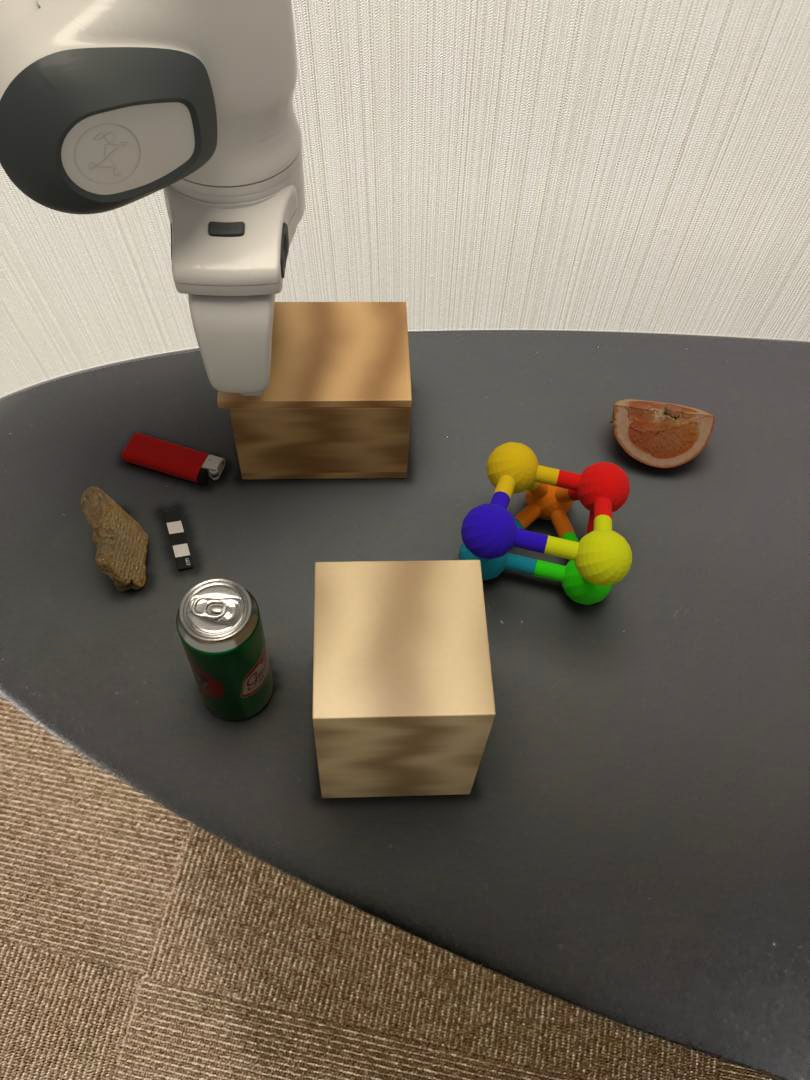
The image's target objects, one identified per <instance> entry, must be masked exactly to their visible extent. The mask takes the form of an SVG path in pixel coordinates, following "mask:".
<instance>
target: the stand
mask: <svg viewBox="0 0 810 1080" xmlns="http://www.w3.org/2000/svg"><path fill="white" fill-rule="evenodd" d="M313 587H314V592H313V593H314V596H313V647H312V648H313V649H312V650H313V652H312V653H313V655H312V656H313V658H312V660H313V661H312V664H313V665H312V713H311V717H312V726H313V727H312V728H313V736H314V743H315V752H316V760H317V761H316V762H317V768H318V779H319V787H320V794H321V795H320V797H321V798H322V799H346V798H347V799H349V798H350V799H351V798H384V797H385V798H386V797H421V796H454V795H456V796H457V795H460V796H461V795H471V792H472V789H473V786H474V783H475V779H476V776H477V773H478V770H479V767H480V764H481V761H482V758H483V756H484V755H483V754H484V752H485V748H486V746H487V742H488V739H489V736H490V733H491V730H492V727H493V724H494V720H495V718H496V714H497V712H496V704H495V703H496V702H495V693H494V683H493V673H492V662H491V653H490V644H489V634H488V633H489V632H488V623H487V611H486V605H485V594H484V583H483V580H482V572H481V562H480V560H459V559H445V560H444V559H441V560H440V559H439V560H436V559H435V560H431V559H430V560H367V561H364V560H363V561H362V560H361V561H358V560H357V561H315V562H314V585H313Z"/></svg>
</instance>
